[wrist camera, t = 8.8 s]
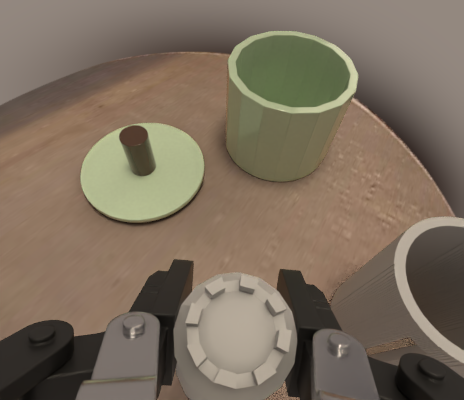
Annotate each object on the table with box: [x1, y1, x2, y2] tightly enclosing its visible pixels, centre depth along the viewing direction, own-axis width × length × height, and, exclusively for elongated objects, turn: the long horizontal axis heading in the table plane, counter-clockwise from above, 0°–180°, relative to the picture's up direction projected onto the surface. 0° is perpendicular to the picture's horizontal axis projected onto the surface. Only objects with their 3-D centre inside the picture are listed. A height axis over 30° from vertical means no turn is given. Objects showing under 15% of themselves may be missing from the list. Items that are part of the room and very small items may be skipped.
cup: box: [330, 216, 464, 378], centre depth 23 cm, size 9×9×12 cm
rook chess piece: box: [173, 272, 297, 400], centre depth 11 cm, size 4×4×8 cm
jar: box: [225, 31, 358, 182], centre depth 35 cm, size 13×13×10 cm
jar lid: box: [80, 123, 205, 223], centre depth 33 cm, size 14×14×6 cm
